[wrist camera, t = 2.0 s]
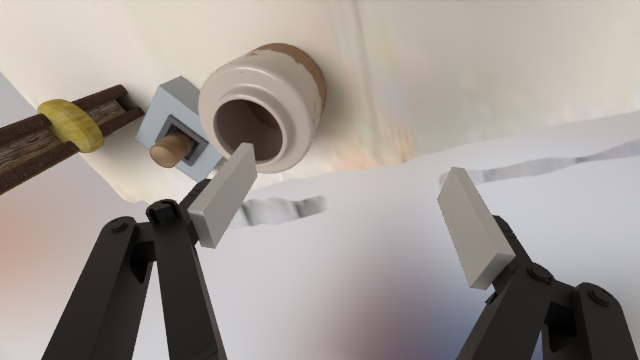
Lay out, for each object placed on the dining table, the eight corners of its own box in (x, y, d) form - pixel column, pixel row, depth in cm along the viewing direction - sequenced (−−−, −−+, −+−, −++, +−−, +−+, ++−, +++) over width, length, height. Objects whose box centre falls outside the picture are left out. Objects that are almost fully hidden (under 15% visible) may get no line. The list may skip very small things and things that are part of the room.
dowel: (170, 138, 46) (145, 156, 41) (178, 123, 44) (154, 140, 39) (191, 153, 48) (170, 172, 42) (200, 139, 45) (180, 157, 40)
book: (90, 144, 56) (-56, 224, 37) (56, 110, 52) (-132, 180, 32) (158, 115, 49) (22, 195, 29) (125, 72, 45) (-61, 133, 25)
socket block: (155, 126, 51) (131, 141, 46) (181, 75, 44) (156, 86, 39) (214, 168, 56) (198, 185, 50) (246, 128, 48) (231, 144, 43)
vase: (325, 134, 47) (310, 189, 34) (248, 129, 48) (205, 179, 35) (327, 43, 38) (308, 70, 24) (232, 41, 39) (166, 64, 26)
